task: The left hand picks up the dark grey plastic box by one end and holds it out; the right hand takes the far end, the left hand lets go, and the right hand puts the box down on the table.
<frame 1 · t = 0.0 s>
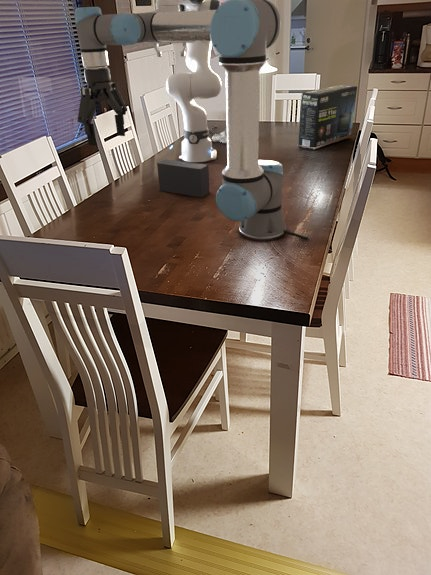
left hand: (171, 56, 177), 48 cm above the table, tool pointing down, fingers open, 8 cm apart
right hand: (107, 140, 148), 28 cm above the table, tool pointing down, fingers open, 13 cm apart
router box: (325, 143, 245), on the table
box: (184, 191, 186), on the table
fossil: (227, 141, 255), on the table
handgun: (242, 182, 194), on the table
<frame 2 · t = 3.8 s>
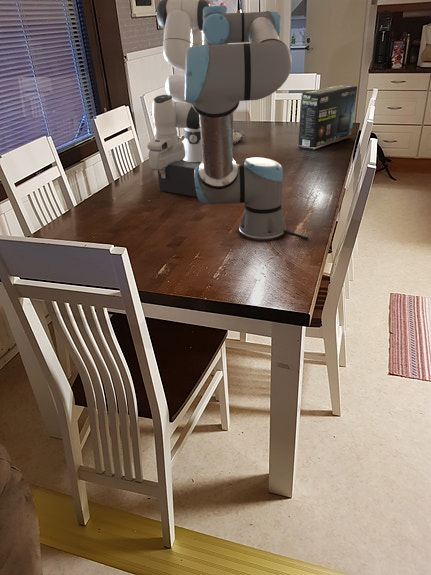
left hand: (169, 175, 186), 6 cm above the table, tool pointing down, fingers closed on box, 6 cm apart
right hand: (218, 132, 156), 27 cm above the table, tool pointing down, fingers open, 13 cm apart
box: (184, 191, 186), on the table, touching left hand
everything else where it was.
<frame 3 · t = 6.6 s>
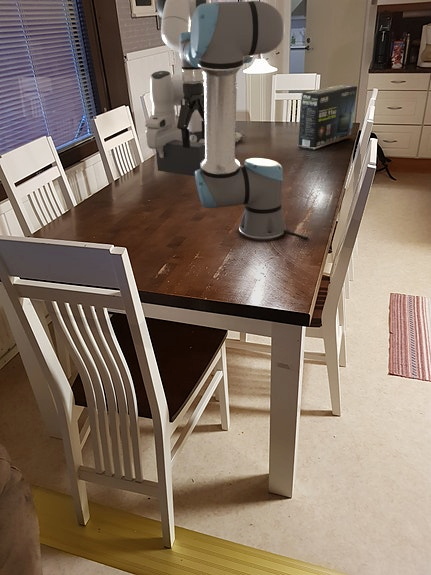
left hand: (167, 154, 182), 14 cm above the table, tool pointing down, fingers closed on box, 6 cm apart
right hand: (196, 143, 173), 20 cm above the table, tool pointing down, fingers open, 13 cm apart
box: (183, 171, 182), point 8 cm above the table, touching left hand
everything else where it was.
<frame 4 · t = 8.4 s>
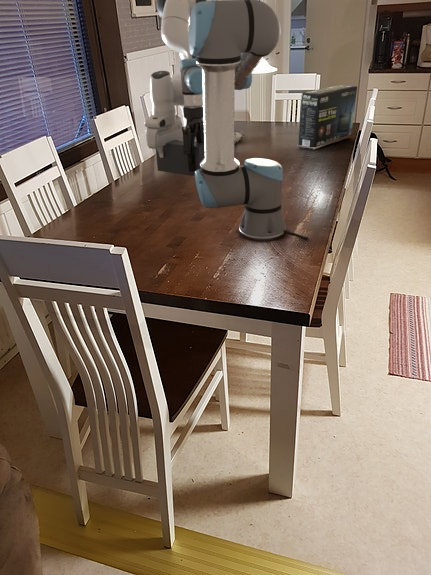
left hand: (167, 154, 182), 14 cm above the table, tool pointing down, fingers closed on box, 6 cm apart
right hand: (196, 169, 178), 10 cm above the table, tool pointing down, fingers closed on box, 6 cm apart
box: (182, 171, 182), point 8 cm above the table, touching right hand, left hand
everything else where it was.
when the left hand's fingers open (14 cm above the table, at t = 9.3 s): box moves 1 cm, held by the right hand.
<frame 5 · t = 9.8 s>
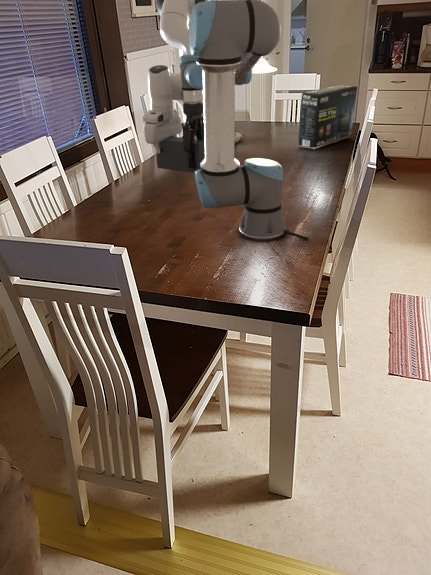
left hand: (165, 149, 182), 16 cm above the table, tool pointing down, fingers open, 8 cm apart
right hand: (196, 165, 177), 11 cm above the table, tool pointing down, fingers closed on box, 6 cm apart
box: (182, 168, 181), point 9 cm above the table, touching right hand
everything else where it was.
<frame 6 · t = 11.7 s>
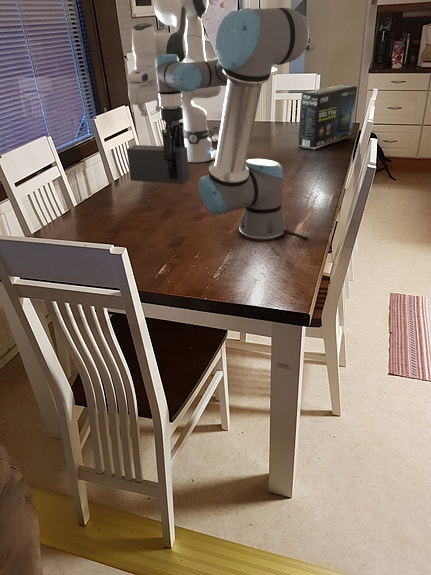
left hand: (151, 113, 177), 30 cm above the table, tool pointing down, fingers open, 8 cm apart
right hand: (176, 175, 163), 13 cm above the table, tool pointing down, fingers closed on box, 6 cm apart
box: (159, 179, 166), point 11 cm above the table, touching right hand
everything else where it was.
when the right hand's fingers open (3 cm above the table, at t = 15.4 s): box drops 1 cm, on the table.
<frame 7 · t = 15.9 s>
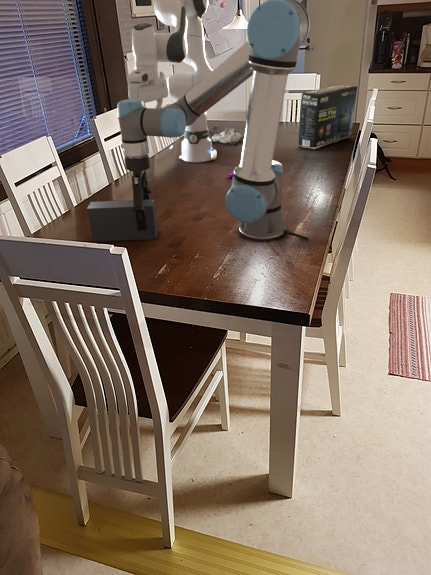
left hand: (151, 113, 177), 30 cm above the table, tool pointing down, fingers open, 8 cm apart
right hand: (144, 221, 148), 5 cm above the table, tool pointing down, fingers open, 13 cm apart
box: (126, 236, 151), on the table
everything else where it was.
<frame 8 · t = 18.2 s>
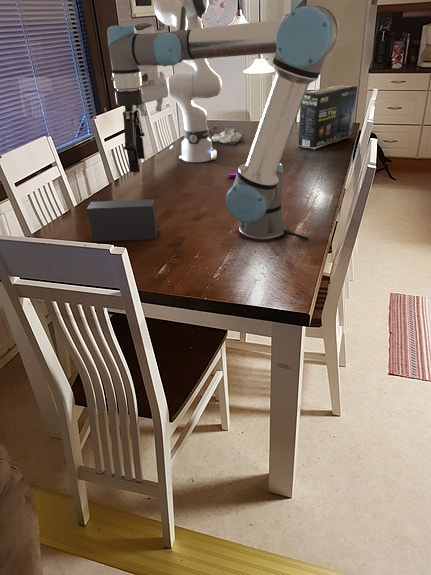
left hand: (151, 113, 177), 30 cm above the table, tool pointing down, fingers open, 8 cm apart
right hand: (137, 165, 139), 23 cm above the table, tool pointing down, fingers open, 13 cm apart
nothing on the table moved.
at the end: box inside the target area (6.6 cm from its centre), on the table; the left hand is holding nothing; the right hand is holding nothing; box at rest at the end (0.0 cm/s) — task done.
